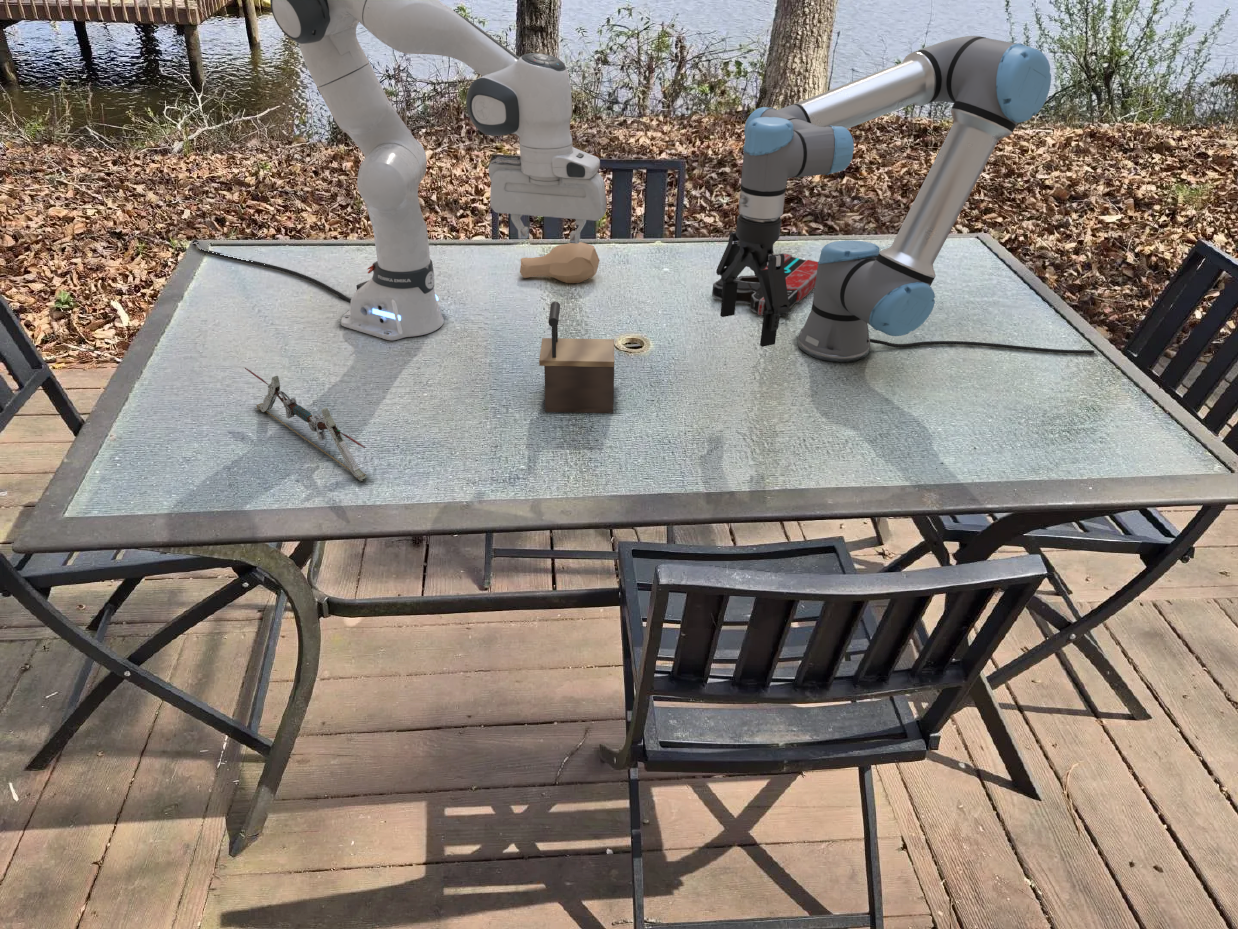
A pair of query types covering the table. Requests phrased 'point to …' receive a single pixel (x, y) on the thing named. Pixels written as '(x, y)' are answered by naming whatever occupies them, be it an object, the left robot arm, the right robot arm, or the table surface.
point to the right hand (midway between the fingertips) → (746, 329)
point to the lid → (574, 348)
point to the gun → (797, 282)
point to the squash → (564, 263)
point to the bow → (311, 423)
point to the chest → (579, 389)
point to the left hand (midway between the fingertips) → (549, 240)
